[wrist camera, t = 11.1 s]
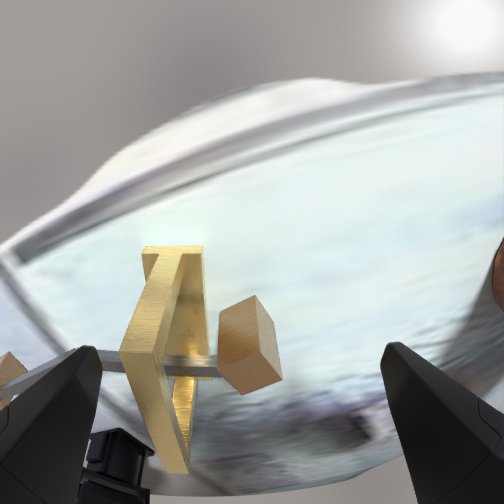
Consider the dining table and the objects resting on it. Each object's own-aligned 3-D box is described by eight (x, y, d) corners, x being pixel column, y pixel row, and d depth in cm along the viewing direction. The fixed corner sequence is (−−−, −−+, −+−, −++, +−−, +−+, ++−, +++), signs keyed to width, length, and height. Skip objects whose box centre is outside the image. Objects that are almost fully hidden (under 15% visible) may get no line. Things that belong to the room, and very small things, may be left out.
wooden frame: (212, 370, 27) (207, 474, 18) (167, 368, 27) (149, 470, 17) (202, 245, 22) (181, 354, 12) (145, 246, 21) (92, 348, 12)
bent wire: (273, 322, 25) (282, 379, 19) (52, 408, 30) (36, 445, 25) (210, 228, 21) (201, 274, 16) (-1, 358, 26) (-24, 393, 21)
